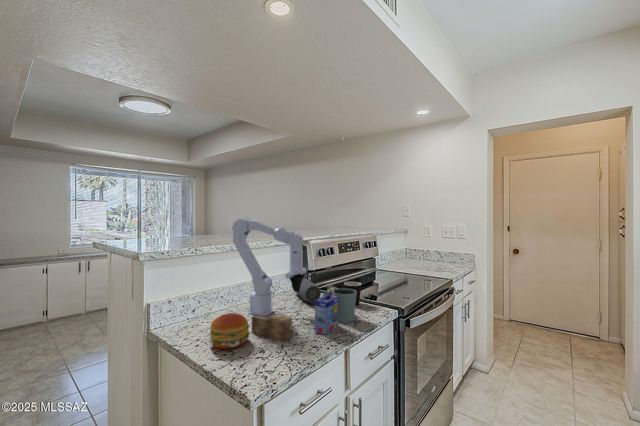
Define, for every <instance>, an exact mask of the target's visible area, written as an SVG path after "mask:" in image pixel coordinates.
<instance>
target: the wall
mask: <svg viewBox="0 0 640 426" xmlns="http://www.w3.org/2000/svg"><path fill="white" fill-rule="evenodd" d="M251 333H252V334H257V335H261V336H265V337H268V338H273V339H278V340H282V341H287V342H288V341H289V340H291V330H290V322H287V321H282V320H277V319H272V318H268V317H267V316H261V315H256V314H253V315H252V316H251Z"/></svg>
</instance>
